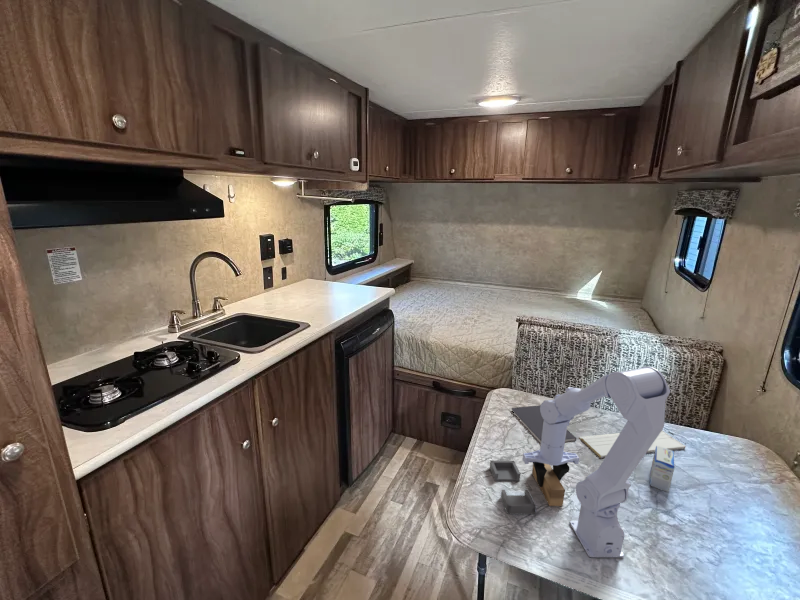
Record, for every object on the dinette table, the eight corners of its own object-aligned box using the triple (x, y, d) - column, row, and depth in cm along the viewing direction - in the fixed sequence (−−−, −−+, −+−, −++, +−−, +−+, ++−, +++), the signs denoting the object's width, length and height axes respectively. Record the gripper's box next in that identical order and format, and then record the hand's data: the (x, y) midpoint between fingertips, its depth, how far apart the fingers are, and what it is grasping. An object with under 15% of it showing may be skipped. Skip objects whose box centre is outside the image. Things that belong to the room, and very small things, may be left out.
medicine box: (650, 470, 108) (655, 444, 106) (668, 476, 105) (674, 450, 103) (649, 485, 102) (655, 459, 99) (669, 493, 99) (675, 466, 97)
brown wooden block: (562, 505, 94) (565, 489, 93) (549, 506, 94) (551, 489, 93) (543, 473, 106) (545, 458, 104) (532, 473, 106) (533, 458, 104)
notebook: (575, 442, 121) (540, 408, 142) (576, 437, 121) (540, 405, 141) (541, 446, 119) (510, 411, 139) (542, 442, 118) (510, 407, 139)
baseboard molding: (576, 436, 124) (600, 460, 113) (577, 429, 124) (601, 452, 112) (654, 429, 129) (684, 450, 118) (655, 421, 129) (686, 442, 117)
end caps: (535, 514, 91) (536, 506, 91) (507, 514, 91) (508, 506, 91) (513, 467, 108) (514, 460, 107) (489, 467, 108) (490, 460, 107)
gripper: (572, 432, 100) (566, 473, 103) (520, 432, 100) (516, 474, 103) (585, 448, 93) (578, 492, 97) (530, 448, 93) (524, 492, 96)
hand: (547, 484), depth 99 cm, fingers closed on brown wooden block, 3 cm apart
